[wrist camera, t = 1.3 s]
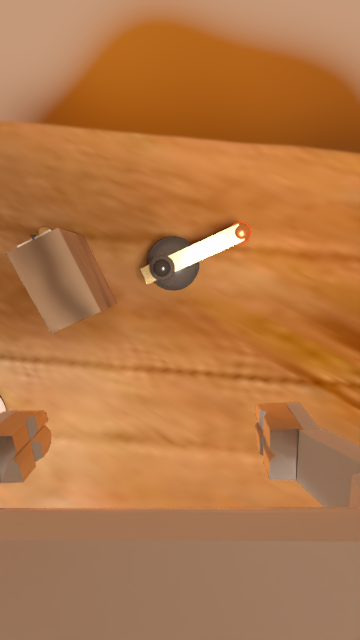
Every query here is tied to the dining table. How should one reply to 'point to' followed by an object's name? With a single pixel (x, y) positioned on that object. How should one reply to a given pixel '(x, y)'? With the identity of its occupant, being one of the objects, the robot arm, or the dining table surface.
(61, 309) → the brown box
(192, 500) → the dining table surface
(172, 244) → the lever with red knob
